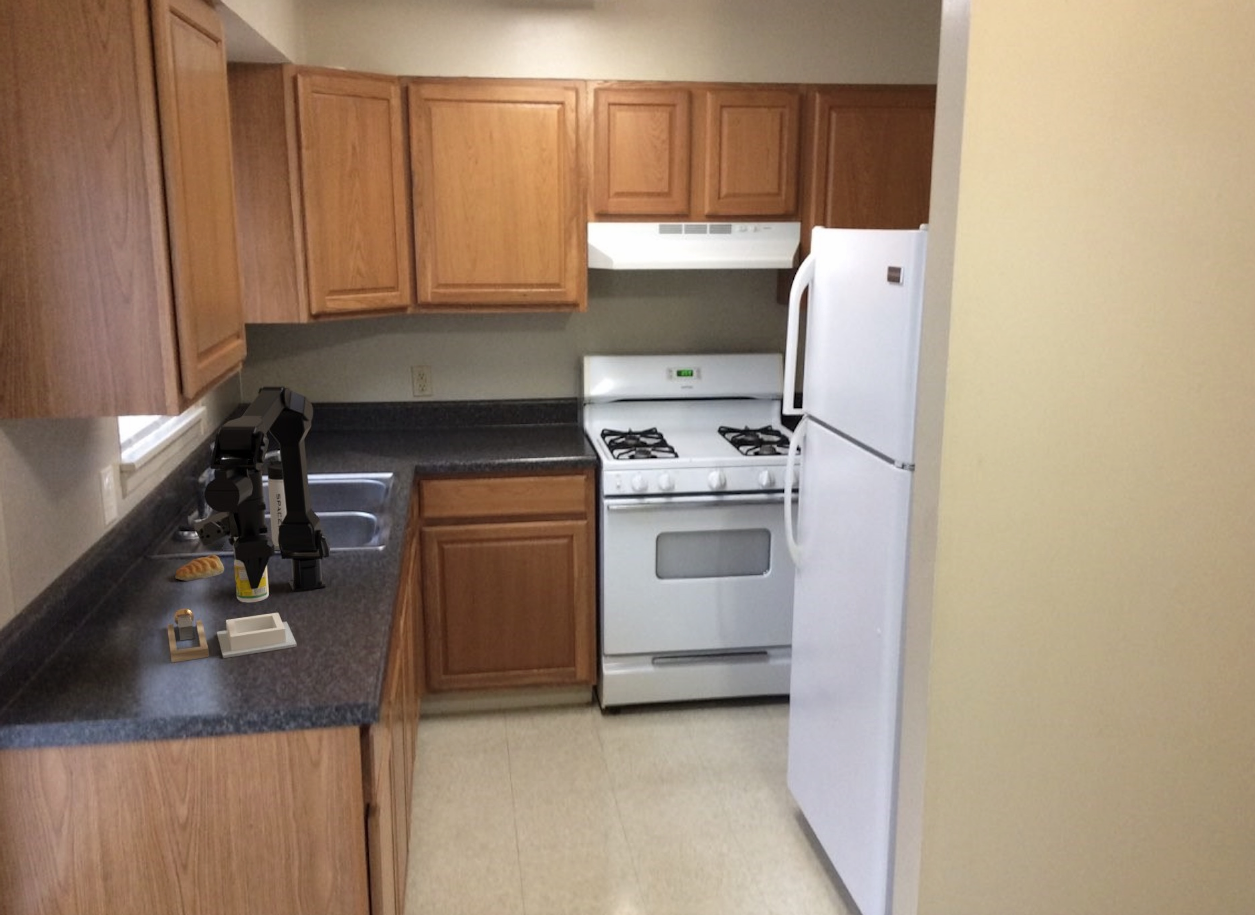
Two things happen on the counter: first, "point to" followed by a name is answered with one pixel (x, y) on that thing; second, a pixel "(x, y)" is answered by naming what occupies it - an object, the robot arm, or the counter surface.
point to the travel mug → (276, 499)
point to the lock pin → (184, 623)
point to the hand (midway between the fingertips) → (252, 583)
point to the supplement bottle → (244, 588)
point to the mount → (189, 652)
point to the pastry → (200, 568)
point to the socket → (255, 635)
